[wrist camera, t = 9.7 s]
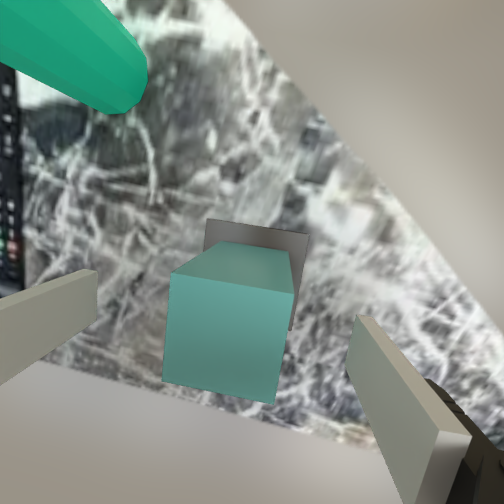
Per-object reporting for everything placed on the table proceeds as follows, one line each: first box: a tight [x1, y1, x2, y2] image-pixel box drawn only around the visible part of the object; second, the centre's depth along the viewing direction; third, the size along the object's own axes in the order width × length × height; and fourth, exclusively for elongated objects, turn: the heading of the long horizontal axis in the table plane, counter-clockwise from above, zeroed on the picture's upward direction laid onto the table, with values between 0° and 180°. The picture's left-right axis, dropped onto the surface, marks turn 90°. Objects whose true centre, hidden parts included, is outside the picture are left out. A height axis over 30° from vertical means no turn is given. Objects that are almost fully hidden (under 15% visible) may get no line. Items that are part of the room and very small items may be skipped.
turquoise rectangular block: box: [162, 241, 294, 405], centre depth 16 cm, size 5×5×10 cm
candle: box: [0, 0, 148, 114], centre depth 14 cm, size 6×6×12 cm
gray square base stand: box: [203, 219, 309, 331], centre depth 17 cm, size 8×8×10 cm
